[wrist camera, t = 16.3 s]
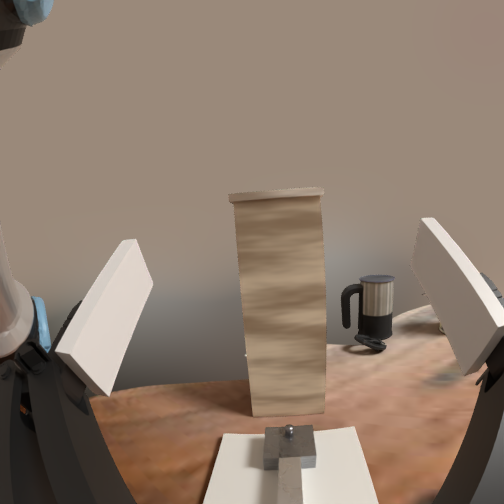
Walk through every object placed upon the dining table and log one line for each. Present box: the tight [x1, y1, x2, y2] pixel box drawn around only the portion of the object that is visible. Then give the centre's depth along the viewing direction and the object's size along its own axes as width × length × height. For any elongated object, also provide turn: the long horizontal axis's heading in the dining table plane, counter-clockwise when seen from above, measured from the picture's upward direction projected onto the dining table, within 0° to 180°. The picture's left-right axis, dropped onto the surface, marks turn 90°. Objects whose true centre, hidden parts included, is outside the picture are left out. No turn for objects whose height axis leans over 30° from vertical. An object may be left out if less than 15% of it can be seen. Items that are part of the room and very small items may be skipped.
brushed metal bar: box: [263, 425, 317, 504], centre depth 19 cm, size 24×6×4 cm, turn 175°
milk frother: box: [341, 275, 395, 351], centre depth 61 cm, size 14×16×15 cm
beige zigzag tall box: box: [229, 187, 326, 417], centre depth 42 cm, size 12×12×33 cm
